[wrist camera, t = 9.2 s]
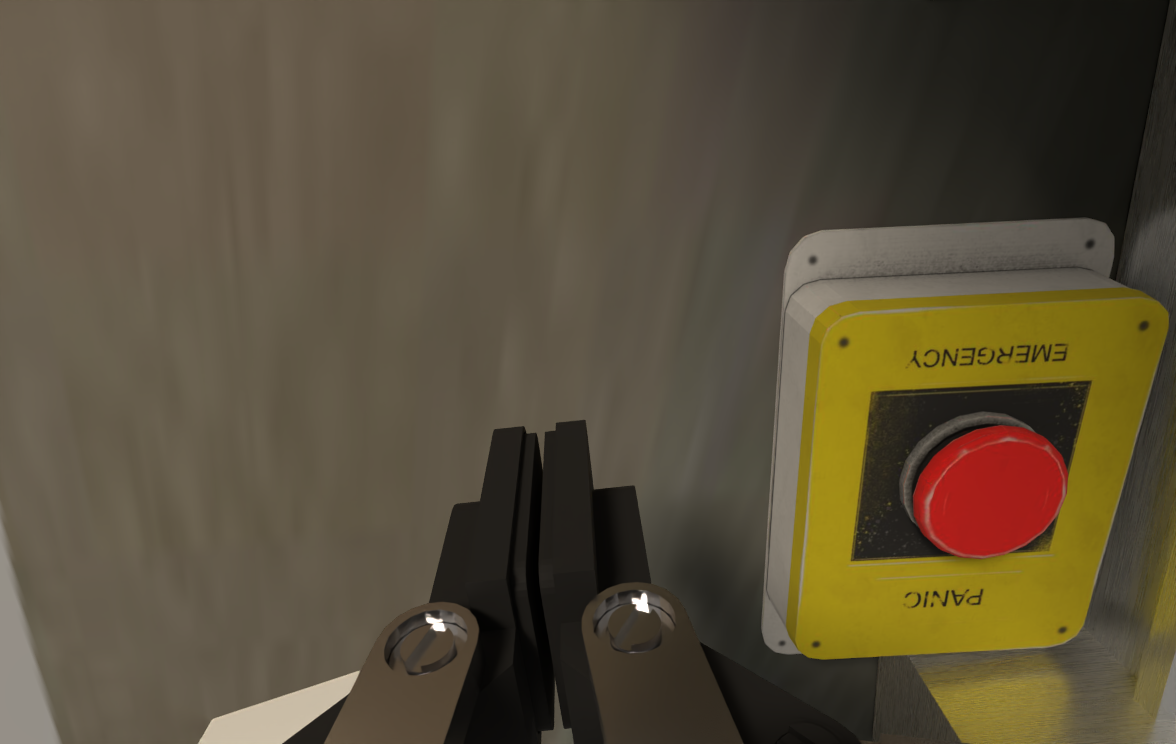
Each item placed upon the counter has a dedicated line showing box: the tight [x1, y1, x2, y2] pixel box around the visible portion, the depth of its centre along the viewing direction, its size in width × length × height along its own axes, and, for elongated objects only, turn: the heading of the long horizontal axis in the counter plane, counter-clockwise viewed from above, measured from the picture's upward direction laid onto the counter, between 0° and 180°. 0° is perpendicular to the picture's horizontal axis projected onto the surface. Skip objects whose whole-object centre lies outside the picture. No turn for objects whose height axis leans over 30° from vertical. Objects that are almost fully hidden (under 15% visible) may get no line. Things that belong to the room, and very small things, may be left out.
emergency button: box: [761, 217, 1169, 659], centre depth 20 cm, size 9×4×15 cm
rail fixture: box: [872, 0, 1176, 744], centre depth 16 cm, size 38×8×8 cm, turn 6°
